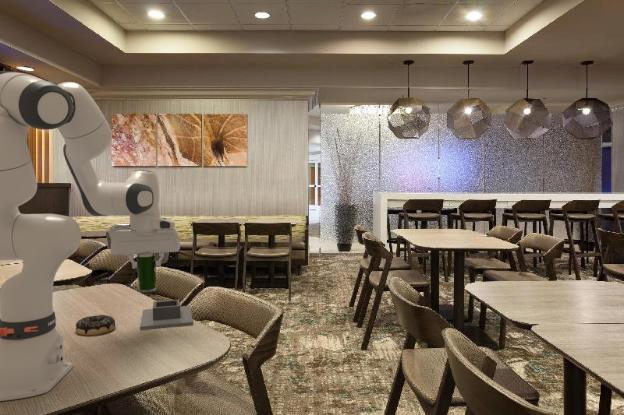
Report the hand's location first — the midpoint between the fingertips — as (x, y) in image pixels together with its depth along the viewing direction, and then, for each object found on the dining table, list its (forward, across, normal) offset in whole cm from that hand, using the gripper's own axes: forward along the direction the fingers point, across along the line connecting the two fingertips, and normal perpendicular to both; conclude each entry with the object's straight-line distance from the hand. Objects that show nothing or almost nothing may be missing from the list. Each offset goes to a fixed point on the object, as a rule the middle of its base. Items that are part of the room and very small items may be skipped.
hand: (146, 267), depth 150 cm
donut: (+20, -16, +4) cm, 26 cm away
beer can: (+7, 0, 0) cm, 7 cm away
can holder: (+20, +5, +10) cm, 23 cm away
